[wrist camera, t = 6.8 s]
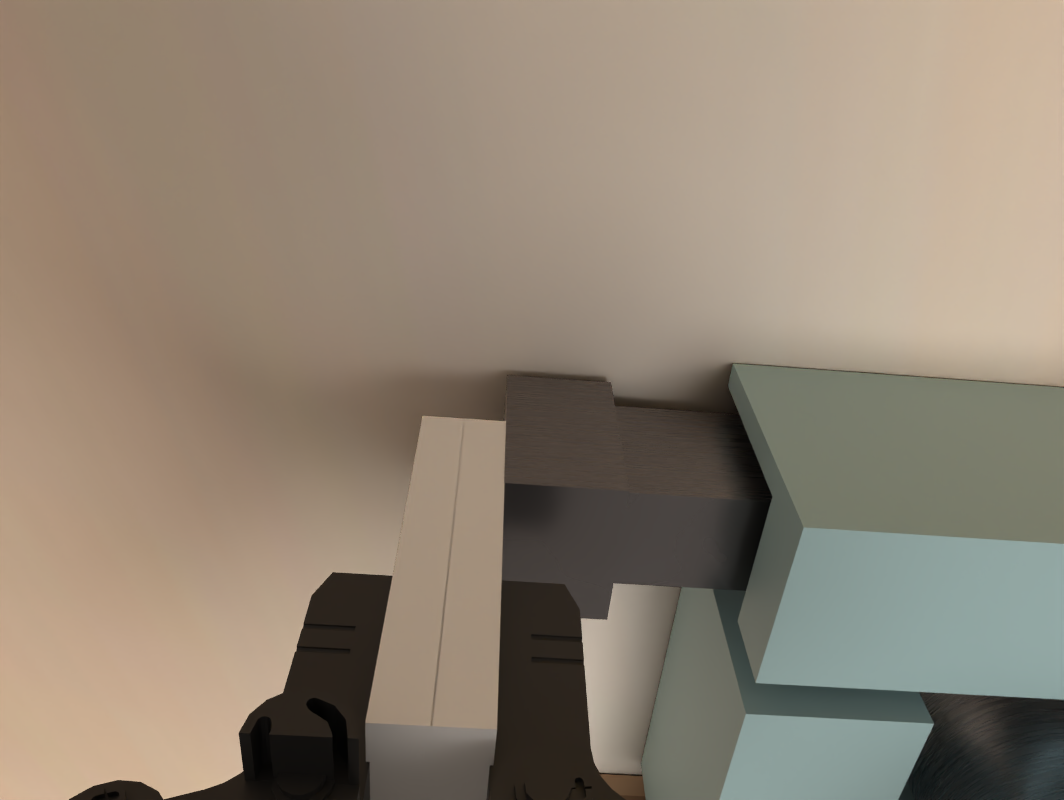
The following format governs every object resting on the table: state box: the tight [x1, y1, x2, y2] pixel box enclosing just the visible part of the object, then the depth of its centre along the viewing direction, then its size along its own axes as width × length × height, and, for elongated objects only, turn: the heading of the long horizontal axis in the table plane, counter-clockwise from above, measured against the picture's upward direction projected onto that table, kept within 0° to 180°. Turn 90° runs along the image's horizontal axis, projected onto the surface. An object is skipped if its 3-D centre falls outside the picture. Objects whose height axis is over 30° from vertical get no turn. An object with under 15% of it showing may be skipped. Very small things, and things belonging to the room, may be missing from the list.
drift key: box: [502, 375, 772, 619], centre depth 16 cm, size 3×10×4 cm, turn 85°
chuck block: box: [641, 363, 1064, 800], centre depth 18 cm, size 12×12×5 cm
